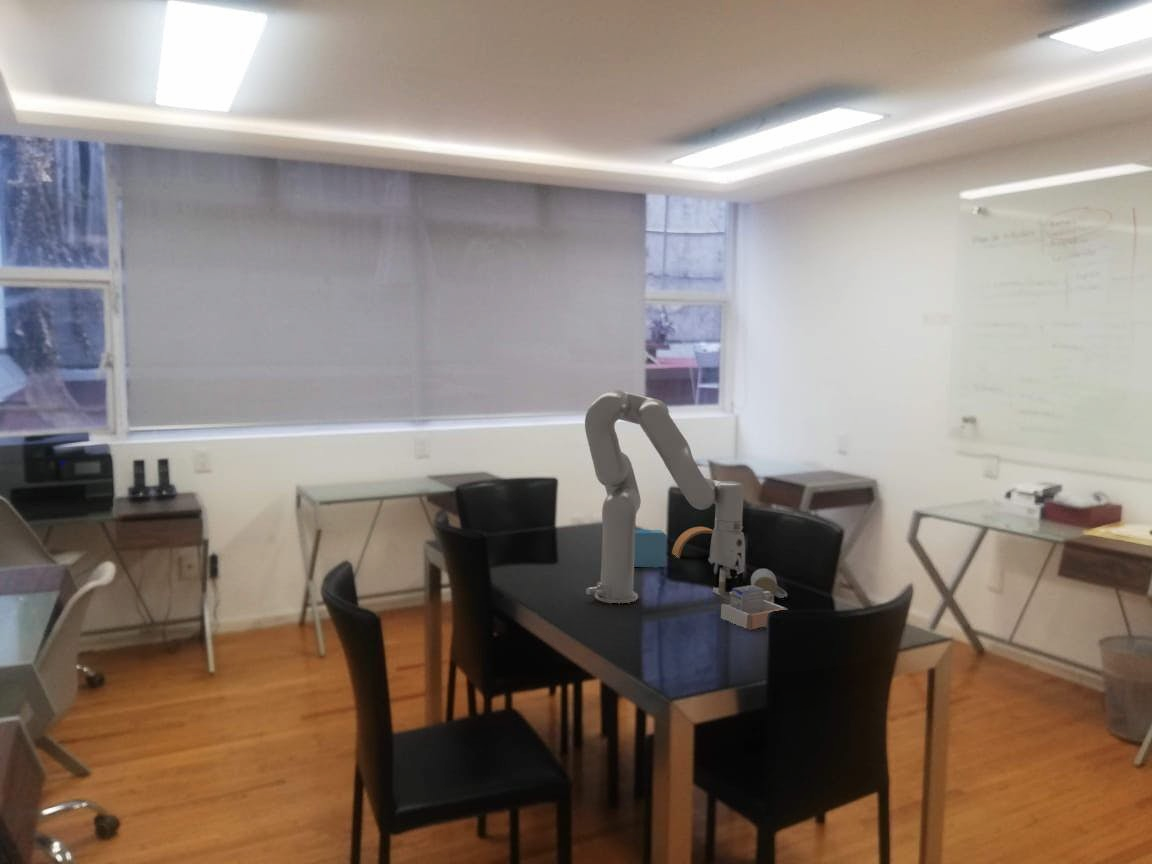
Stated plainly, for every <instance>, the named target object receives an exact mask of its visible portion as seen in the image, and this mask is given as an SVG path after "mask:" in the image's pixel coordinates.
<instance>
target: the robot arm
mask: <svg viewBox="0 0 1152 864" xmlns="http://www.w3.org/2000/svg"><path fill="white" fill-rule="evenodd" d="M619 420H620V421H624V422H628V423H631V424H636V425H639V426H640V427H641V429H642V431H643V432H644V433H645V435H646V436H647V438H648V439H649V441H650V442H651V444H652V446H653V447H654V449H655V450H656V452H657V453H658V454H659V457H660V458H661V460H662V461H663V463H664V465H665V467H666V469H667V470H668V472H669V473H670V475H671V477H672V479H673V480H674V483H675V484H676V486H677V487H678V489H679V490H680V492H681V493H682V495H683V496H684V498H685V499H686V502H688V503H689V504H690V506H692V508H694V509H697V510H702V511H703V510H706V509H709V508H710V507H711V506H712V505H713V504H714V505H715V510H714V511H715V514H714V515H715V516H714V527H713V529H712V530H713V534H712V535H711V539H710V540H711V541H710V546H709V547H710V549H709V557H708V559H707V561H708V562H709V563H710V564H711V566H712V569H713V574H714V587H715V588H719V575H720V568H722V567H727V577H728V578H726V579H725V592H732V589H733V588H736V578H738V575H739V574H742V573H744V572H745V568H744V566H745V564H746V562H745V561H746V545H745V535H744V532H742V530H743V529H744V526H743V511H744V496H745V487H744V485H743V483H741V482H738V481H734V480H733V481H731V480H724V481H723V480H722V481H721V480H715V479H712V478H706V477H705V476H704V475H703V473H702V472H701V470H700V468H699V466H698V465H697V463H696V461H695V459H694V457H693V454H692V450H691V447H690V445H689V443H688V441H687V439H686V437H684V435H683V434H682V432H681V431H680V429H679V428H678V426H677V424H676V423H675V422H674V420H673V418H672V417H671V415H670V411H669V407H668V406H667V405H666V403H665V402H663V401H662V400H660V399H657V398H652V397H647V396H643V395H640V394H636V393H633V392H632V393H631V392H628V391H626V390H624V391H623V390H618V389H615V390H614V389H613V390H611V391H606V392H604V393H603V394H601V395H600V396H598V397H597V398H596V399H595V400H594V401H593V402H592V403H591V404H590V405H589V408H588V409H587V411H586V414H585V419H584V430H585V435H586V439H587V443H588V447H589V451H590V452H589V453H590V455H591V460H592V463H593V467H594V472H595V476H596V479H597V481H598V482H599V483H600V484H601V485H603V486H604V488H605V492H606V495H607V496H606V498H605V499H604V500H603V504H602V509H601V510H602V511H601V518H602V519H601V521H602V537H601V538H602V539H601V566H600V568H601V569H600V581H597V582H596V583H597V584H596V585H595V586H592V587H591V586H589V587H586V589H585V593H586V595H594V598H595V599H596V600H597V601H600V602H602V603H606V604H612V603H618V604H617V605H624V604H623V603H628V604H631V603H630V602H633V603H635V602H637V601H638V600H639V594H638V593H637V592H635V591H634V579H635V578H634V576H635V568H634V561H635V535H636V530H637V527H636V524H637V523H636V521H637V514H638V511H639V510H640V507H641V502H642V501H641V496H640V495H641V494H640V492H639V491H640V490H639V487H638V483H637V480H636V475H635V473H634V472H635V471H634V468H633V465H632V462H631V460H630V458H629V456H628V455H626V453H624V452H623V451H622V450H621V447H620V443H619V438H618V435H617V432H616V430H615V428H616V427H615V424H616V422H617V421H619ZM637 599H638V600H637ZM636 600H637V601H636ZM634 601H635V602H634ZM620 603H622V604H620Z"/></svg>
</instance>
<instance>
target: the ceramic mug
mask: <svg viewBox="0 0 1152 864" xmlns="http://www.w3.org/2000/svg"><path fill="white" fill-rule="evenodd" d="M750 585H754V586H757V587H760V588H762V589H764V591H769V592H771V594H773V595H774V597H777V598H778V599H780V598H784V597H786V598H787V597H788V593H787V592H786V591H785V590H784V589H783V588H781V587H780V586H778V582H777V577H776V575H775V573H774V572H773V571H771V570H770V569H768V568H758V569H756V570H755V571H754V572H753V573H752V574H751V577H750Z"/></svg>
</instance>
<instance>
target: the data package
mask: <svg viewBox="0 0 1152 864" xmlns="http://www.w3.org/2000/svg"><path fill="white" fill-rule="evenodd" d="M667 539H668V538H667V535H666V533H665V532H664V531H663V530H661V529H636V535H635V561H634V567H637V566H639V567H663V568H664V567H666V562H667V561H666V560H667V557H666V556H667Z"/></svg>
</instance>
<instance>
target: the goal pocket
mask: <svg viewBox="0 0 1152 864" xmlns="http://www.w3.org/2000/svg"><path fill="white" fill-rule="evenodd" d="M728 605H729V604H726V603H723V604H721V608H720V619H721V618H722V619H721V620H723V619H724V620H723V621H725V620H727V621H729V622H728V623H730V622H731V623H730V624H732V623H733V624H732V625H734V624H736V625H735V626H737V625H738V626H737V627H739V626H741V627H744V628H747V629H753V628H757V627H762V626H764V625H765V626H766V621H767V616H768V614H769V613H771V612H773V611H779V610H788V611H789V608H787V607H785V606H781V605H779V604H777V603H771V602H769V601H766V600H763V606H762V612H760V613H755V614H748V613H746V612H743V611H741V610H738V609H736V608H733V607H731V606H728ZM727 621H726V622H727ZM741 627H740V628H741ZM744 628H743V629H744Z"/></svg>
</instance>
